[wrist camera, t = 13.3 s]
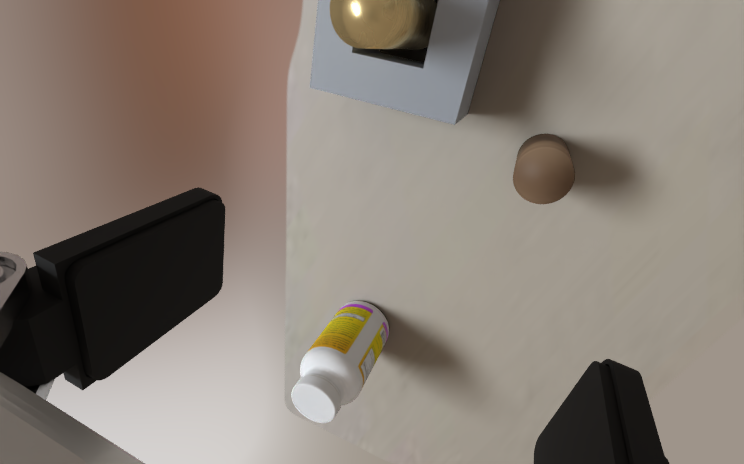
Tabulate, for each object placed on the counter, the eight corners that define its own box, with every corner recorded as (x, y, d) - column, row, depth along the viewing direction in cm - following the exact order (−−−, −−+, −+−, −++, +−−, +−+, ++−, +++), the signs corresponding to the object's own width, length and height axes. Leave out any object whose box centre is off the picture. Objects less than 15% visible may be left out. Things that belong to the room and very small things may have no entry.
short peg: (526, 128, 32) (524, 142, 27) (577, 140, 32) (584, 157, 26) (510, 173, 34) (505, 194, 29) (557, 186, 33) (561, 211, 28)
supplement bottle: (329, 312, 49) (268, 387, 38) (365, 289, 45) (310, 364, 34) (363, 352, 49) (313, 438, 38) (402, 333, 46) (359, 421, 35)
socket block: (362, -77, 31) (327, -102, 26) (515, -56, 28) (510, -80, 23) (341, 82, 37) (309, 87, 32) (467, 113, 34) (454, 124, 29)
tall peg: (399, -10, 32) (334, -38, 22) (447, -1, 31) (402, -27, 21) (390, 44, 34) (325, 41, 24) (434, 53, 33) (387, 54, 23)
